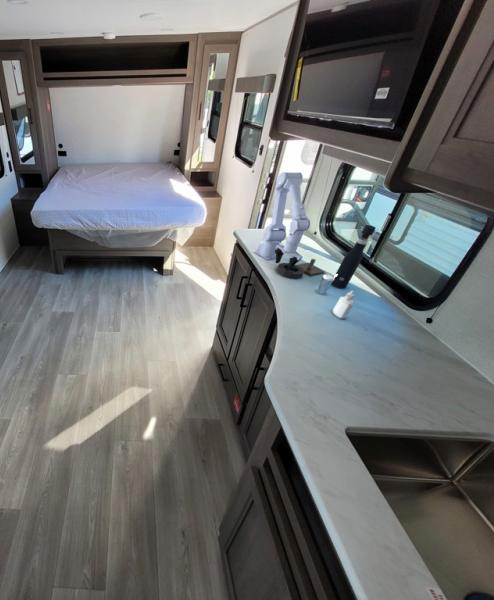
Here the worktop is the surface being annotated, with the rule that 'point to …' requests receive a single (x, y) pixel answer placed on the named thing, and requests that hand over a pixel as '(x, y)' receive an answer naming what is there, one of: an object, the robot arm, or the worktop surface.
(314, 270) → the stand
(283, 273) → the ring
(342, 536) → the worktop surface
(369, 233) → the black thermos flask
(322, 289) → the milkshake
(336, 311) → the eye dropper bottle
